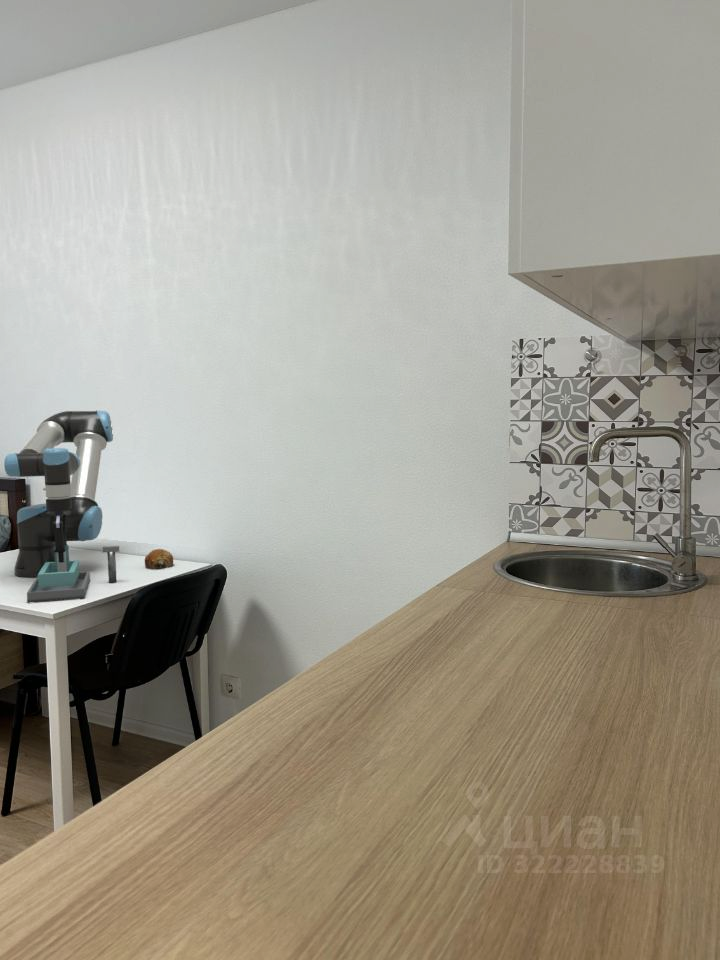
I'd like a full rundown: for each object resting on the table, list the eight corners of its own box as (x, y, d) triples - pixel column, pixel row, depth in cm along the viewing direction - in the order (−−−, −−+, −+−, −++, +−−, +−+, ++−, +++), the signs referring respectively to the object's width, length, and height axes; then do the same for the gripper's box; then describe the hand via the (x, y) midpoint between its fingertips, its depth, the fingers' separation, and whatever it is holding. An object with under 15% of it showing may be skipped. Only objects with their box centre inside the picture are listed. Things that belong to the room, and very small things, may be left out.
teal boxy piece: (46, 574, 244) (44, 546, 243) (79, 572, 247) (78, 544, 246) (38, 588, 227) (36, 557, 226) (74, 585, 229) (72, 555, 228)
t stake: (104, 581, 249) (102, 546, 247) (120, 580, 250) (119, 545, 249) (104, 583, 246) (102, 548, 245) (120, 582, 248) (119, 547, 246)
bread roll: (176, 574, 274) (178, 552, 277) (166, 568, 264) (169, 545, 267) (149, 574, 275) (151, 552, 277) (138, 568, 265) (141, 545, 268)
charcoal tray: (38, 584, 246) (38, 575, 246) (90, 580, 250) (89, 571, 250) (27, 603, 224) (26, 592, 223) (84, 598, 228) (83, 588, 228)
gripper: (48, 495, 248) (52, 567, 251) (42, 501, 234) (47, 577, 237) (73, 494, 250) (77, 565, 253) (68, 499, 236) (72, 575, 239)
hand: (62, 571), depth 245 cm, fingers closed on teal boxy piece, 1 cm apart
